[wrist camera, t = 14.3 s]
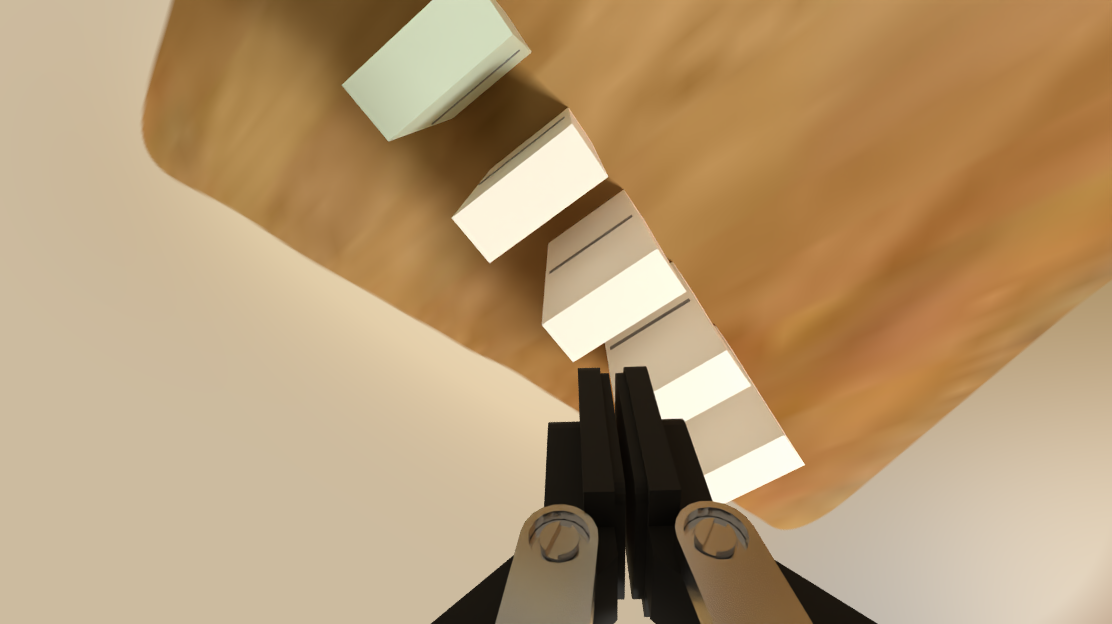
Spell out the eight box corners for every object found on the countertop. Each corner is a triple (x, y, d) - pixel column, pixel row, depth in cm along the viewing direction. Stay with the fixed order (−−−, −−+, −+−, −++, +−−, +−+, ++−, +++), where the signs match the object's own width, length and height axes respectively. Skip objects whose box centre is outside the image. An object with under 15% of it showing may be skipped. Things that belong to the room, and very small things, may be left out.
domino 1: (591, 142, 30) (608, 177, 19) (514, 200, 31) (490, 264, 21) (567, 106, 29) (571, 122, 18) (489, 168, 31) (450, 217, 20)
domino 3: (690, 288, 34) (751, 386, 23) (618, 333, 36) (643, 445, 25) (672, 260, 33) (726, 349, 22) (598, 308, 35) (615, 412, 24)
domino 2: (644, 219, 32) (687, 292, 21) (569, 271, 33) (573, 363, 23) (623, 188, 31) (656, 247, 20) (547, 242, 33) (541, 323, 22)
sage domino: (532, 52, 28) (513, 35, 17) (452, 119, 29) (389, 142, 19) (504, 11, 27) (466, -35, 16) (424, 82, 29) (340, 83, 18)
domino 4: (731, 349, 36) (805, 465, 25) (661, 389, 38) (702, 514, 27) (715, 324, 35) (784, 434, 24) (644, 366, 37) (678, 487, 26)
